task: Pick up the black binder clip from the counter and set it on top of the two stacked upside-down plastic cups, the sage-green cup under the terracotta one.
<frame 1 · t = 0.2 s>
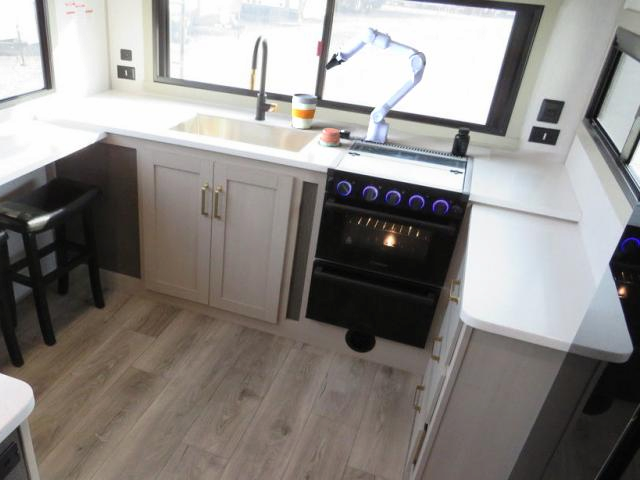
hand: (328, 67, 273), 31 cm above the table, tool tilted 45°, fingers open, 7 cm apart
reusable coffee cup: (301, 126, 295), on the table
binder clip: (344, 137, 283), on the table
cup stack: (329, 143, 273), on the table
supplement bottle: (458, 154, 270), on the table
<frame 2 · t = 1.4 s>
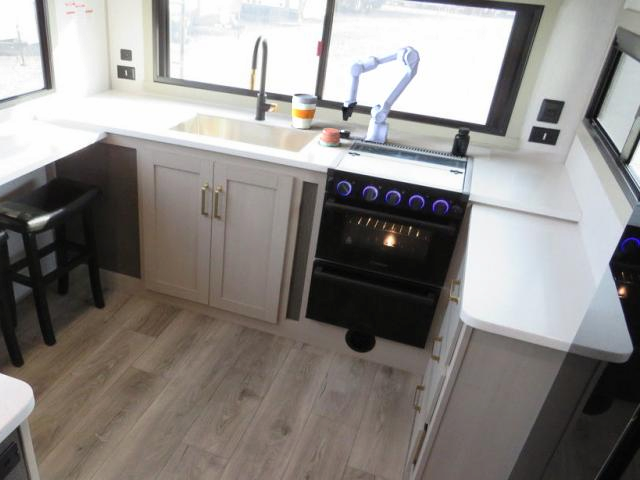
hand: (346, 118, 277), 9 cm above the table, tool pointing down, fingers open, 7 cm apart
nothing on the table moved.
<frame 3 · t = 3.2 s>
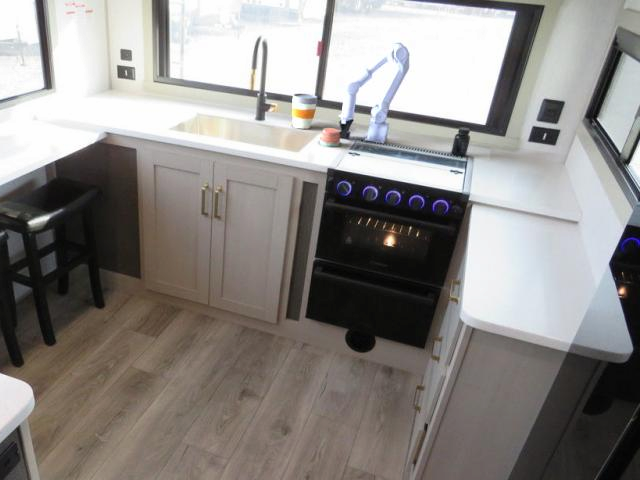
hand: (344, 135, 282), 1 cm above the table, tool pointing down, fingers closed on binder clip, 3 cm apart
binder clip: (344, 137, 282), on the table, touching gripper
everything else where it was.
when the fingers open (8 cm above the table, at t = 6.6 s): binder clip stays where it is, resting on cup stack.
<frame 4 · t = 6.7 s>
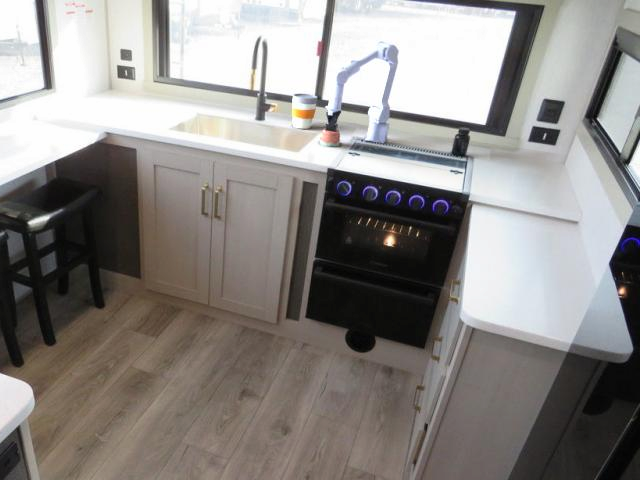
hand: (331, 127, 269), 8 cm above the table, tool pointing down, fingers open, 3 cm apart
binder clip: (331, 130, 270), point 6 cm above the table, touching cup stack
everything else where it was.
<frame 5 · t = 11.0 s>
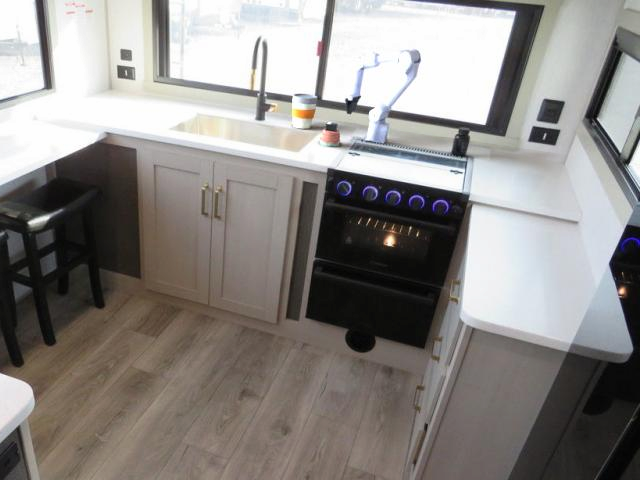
hand: (350, 112, 284), 10 cm above the table, tool pointing down, fingers open, 7 cm apart
nothing on the table moved.
at the end: binder clip 0.1 cm off-centre on the cup stack, point 6.4 cm above the cup stack's base; binder clip touching cup stack; the gripper is holding nothing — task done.
